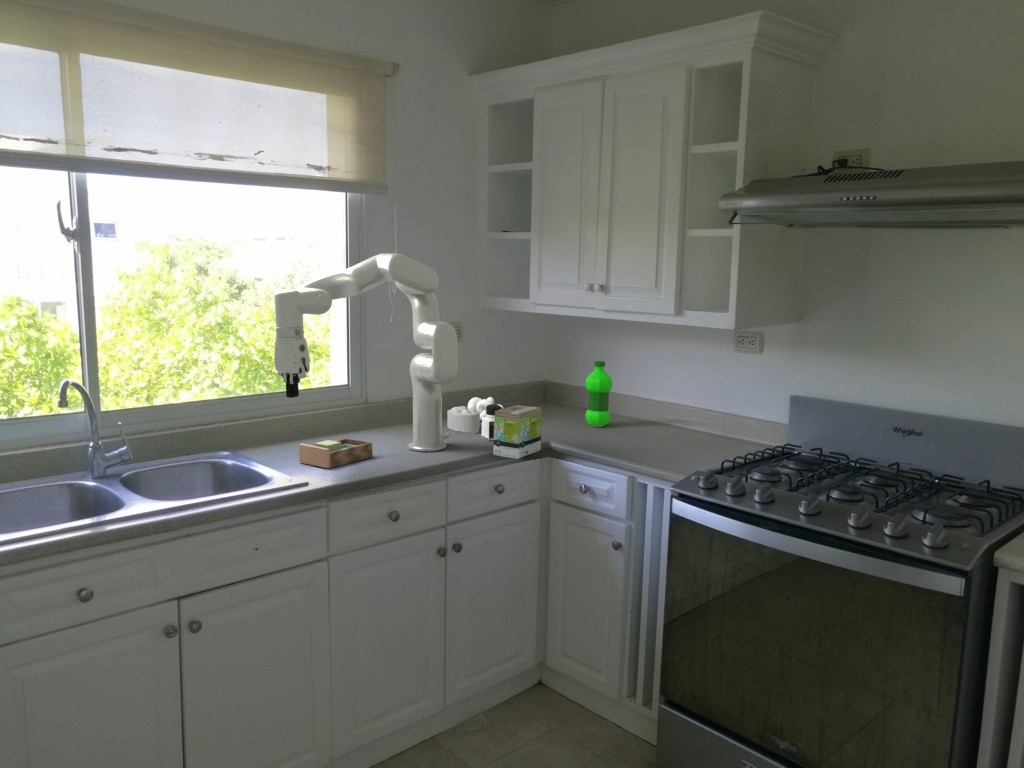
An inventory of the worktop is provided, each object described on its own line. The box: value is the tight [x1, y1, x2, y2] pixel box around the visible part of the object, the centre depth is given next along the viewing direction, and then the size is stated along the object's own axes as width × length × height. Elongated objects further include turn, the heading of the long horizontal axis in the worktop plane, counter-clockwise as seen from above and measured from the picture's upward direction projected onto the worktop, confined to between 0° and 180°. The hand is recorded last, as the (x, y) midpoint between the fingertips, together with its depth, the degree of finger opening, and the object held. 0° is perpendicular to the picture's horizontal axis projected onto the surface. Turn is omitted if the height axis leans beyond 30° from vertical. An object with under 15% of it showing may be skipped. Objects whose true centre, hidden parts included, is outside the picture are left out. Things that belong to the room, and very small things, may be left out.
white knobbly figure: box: [467, 396, 495, 420], centre depth 312 cm, size 11×12×9 cm
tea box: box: [492, 404, 543, 460], centre depth 257 cm, size 15×10×15 cm, turn 151°
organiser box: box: [329, 437, 373, 469], centre depth 245 cm, size 18×11×4 cm, turn 146°
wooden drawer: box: [298, 443, 356, 469], centre depth 244 cm, size 18×12×6 cm, turn 146°
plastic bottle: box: [585, 360, 613, 426], centre depth 302 cm, size 10×10×25 cm
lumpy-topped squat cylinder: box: [446, 405, 481, 432], centre depth 291 cm, size 10×13×9 cm
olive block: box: [314, 439, 341, 452], centre depth 241 cm, size 6×6×4 cm
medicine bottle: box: [481, 403, 504, 439], centre depth 279 cm, size 7×7×12 cm
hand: (292, 396), depth 228 cm, fingers closed
